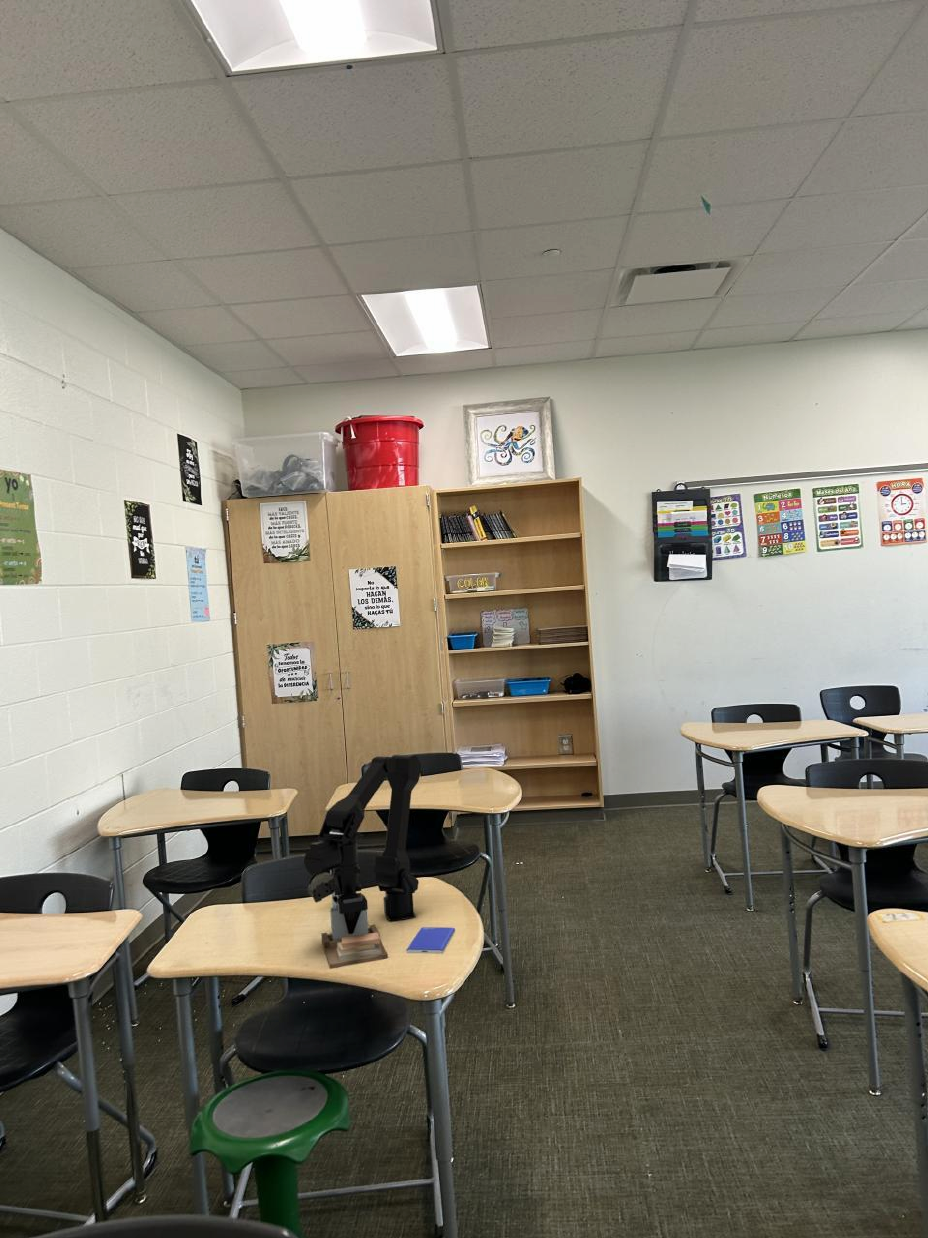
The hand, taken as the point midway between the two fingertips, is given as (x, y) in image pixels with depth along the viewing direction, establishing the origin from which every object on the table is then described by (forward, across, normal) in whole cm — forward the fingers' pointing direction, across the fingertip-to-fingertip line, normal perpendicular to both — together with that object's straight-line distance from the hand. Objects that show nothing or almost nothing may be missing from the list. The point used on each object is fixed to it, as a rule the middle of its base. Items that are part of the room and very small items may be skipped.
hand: (350, 931), depth 184 cm
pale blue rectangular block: (+2, 0, 0) cm, 2 cm away
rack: (+3, +5, 0) cm, 5 cm away
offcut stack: (+2, +9, 0) cm, 10 cm away
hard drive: (+3, +8, +17) cm, 19 cm away
